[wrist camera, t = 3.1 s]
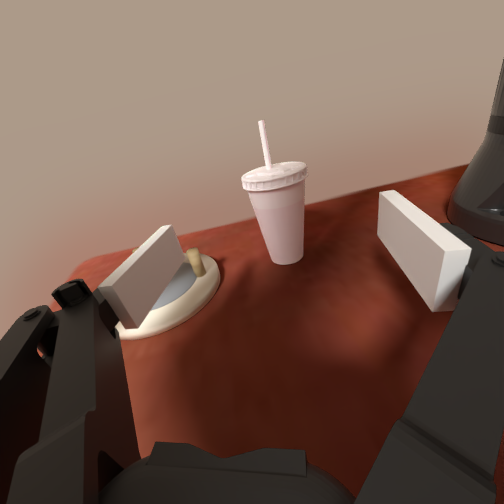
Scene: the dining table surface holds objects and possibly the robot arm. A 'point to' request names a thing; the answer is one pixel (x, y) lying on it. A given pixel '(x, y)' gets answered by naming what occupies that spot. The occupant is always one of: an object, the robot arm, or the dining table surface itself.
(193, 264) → the cup holder base
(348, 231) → the dining table surface
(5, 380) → the robot arm
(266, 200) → the smoothie
